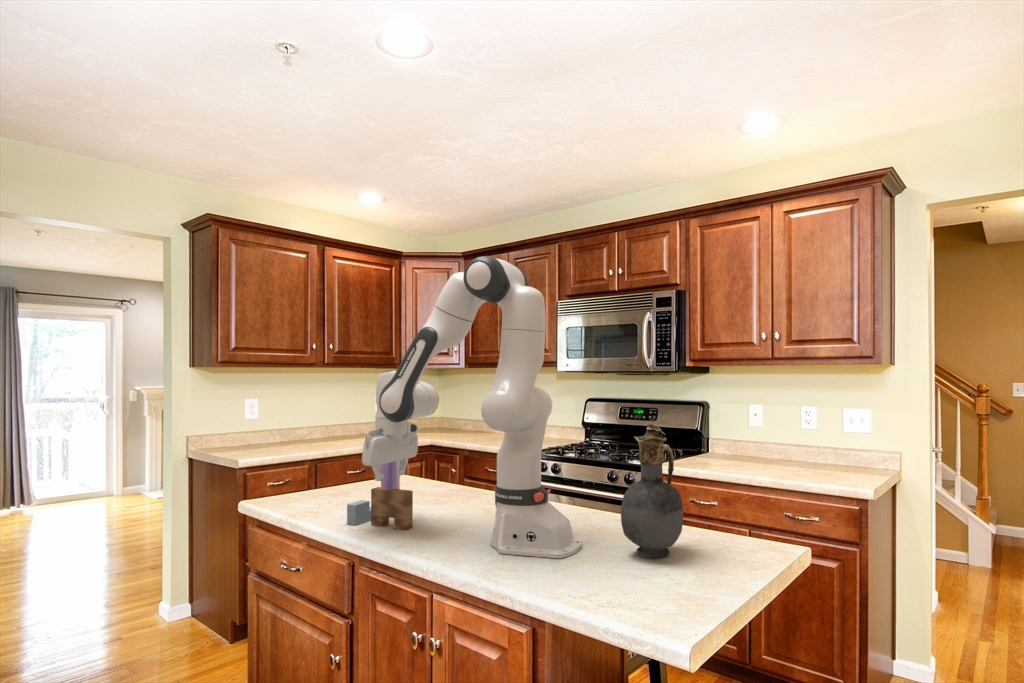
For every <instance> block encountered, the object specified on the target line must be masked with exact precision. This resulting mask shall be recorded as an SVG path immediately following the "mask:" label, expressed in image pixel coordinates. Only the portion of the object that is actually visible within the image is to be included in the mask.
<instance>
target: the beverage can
mask: <svg viewBox="0 0 1024 683" xmlns="http://www.w3.org/2000/svg"><path fill="white" fill-rule="evenodd" d="M399 466H400V462H399V461H394V462H390V463H385V464H382V465H381V469H380V471H381V474H384V477H383V480H382V481H380V487H383V488H392V489H400V486H401V481H400V480H401V478H400V475H397V469H399Z"/></svg>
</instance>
